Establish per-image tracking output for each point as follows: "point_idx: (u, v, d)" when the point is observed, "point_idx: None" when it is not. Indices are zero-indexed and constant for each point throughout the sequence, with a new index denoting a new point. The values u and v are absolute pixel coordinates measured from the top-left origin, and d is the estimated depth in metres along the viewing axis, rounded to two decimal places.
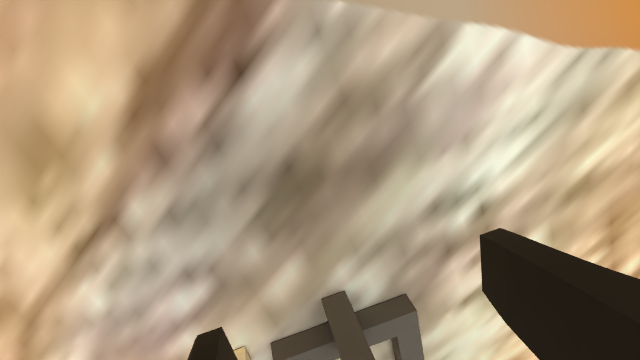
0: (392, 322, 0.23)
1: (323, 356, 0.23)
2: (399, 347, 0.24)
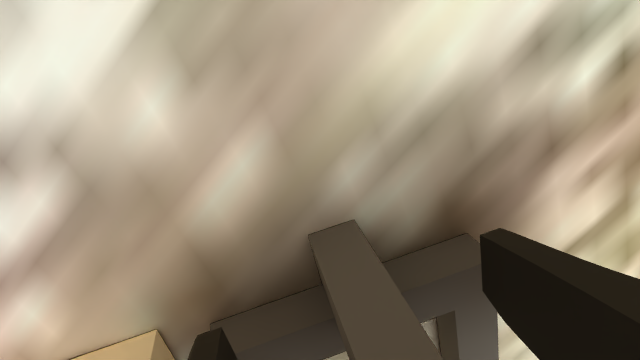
0: (448, 281, 0.12)
1: (311, 348, 0.11)
2: (456, 332, 0.13)
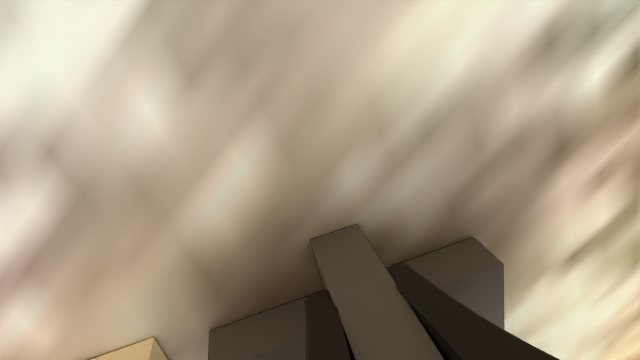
0: (454, 287, 0.11)
1: None
2: None
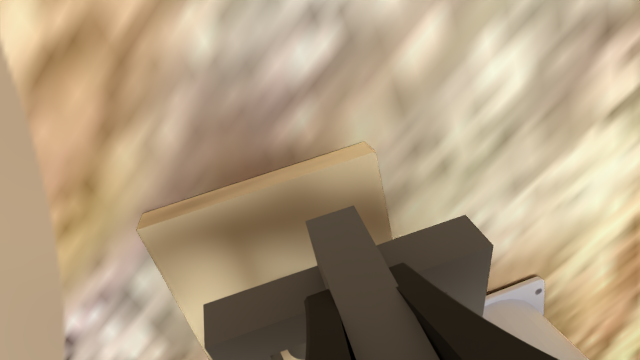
0: (444, 267, 0.12)
1: None
2: None
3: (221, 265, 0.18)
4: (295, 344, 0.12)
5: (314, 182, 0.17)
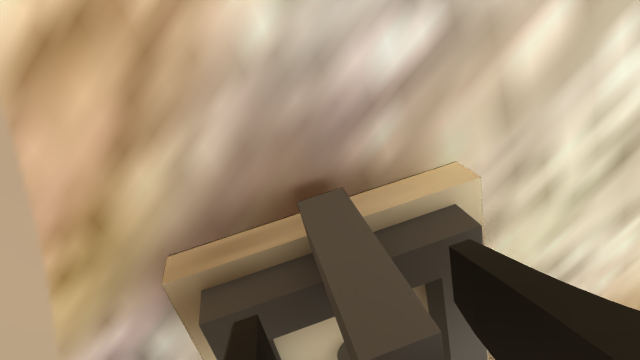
0: (435, 248, 0.12)
1: (300, 313, 0.12)
2: (444, 301, 0.13)
3: None
4: (289, 330, 0.12)
5: (399, 218, 0.13)
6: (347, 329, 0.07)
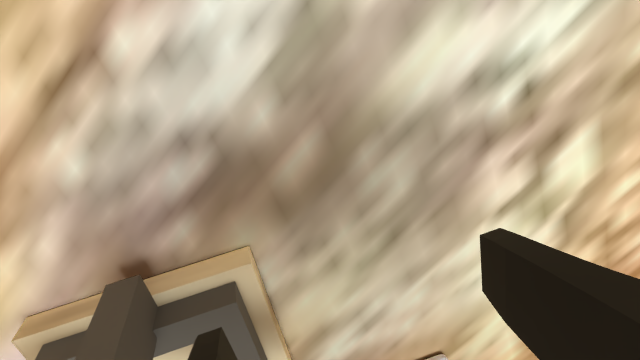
0: (202, 317, 0.17)
1: None
2: None
3: None
4: None
5: (191, 292, 0.18)
6: None
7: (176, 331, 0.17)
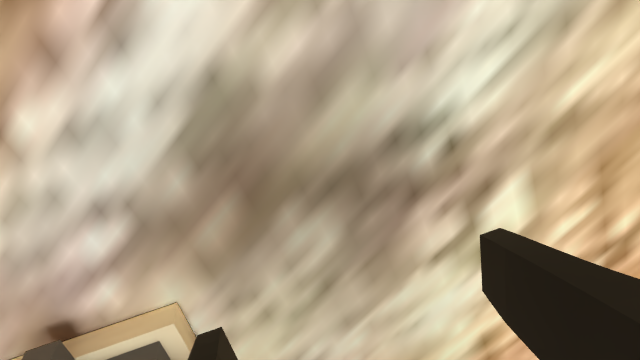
0: None
1: None
2: None
3: None
4: None
5: (115, 353, 0.18)
6: None
7: None
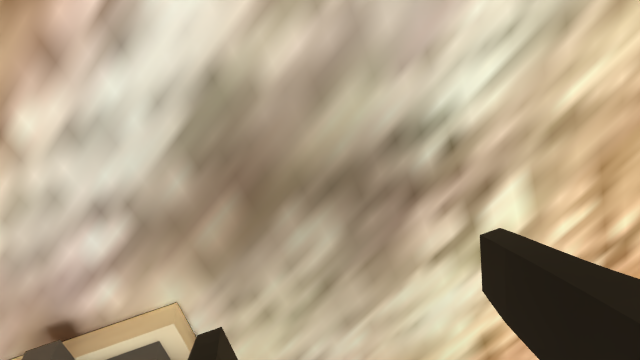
0: None
1: None
2: None
3: None
4: None
5: (115, 353, 0.18)
6: None
7: None
